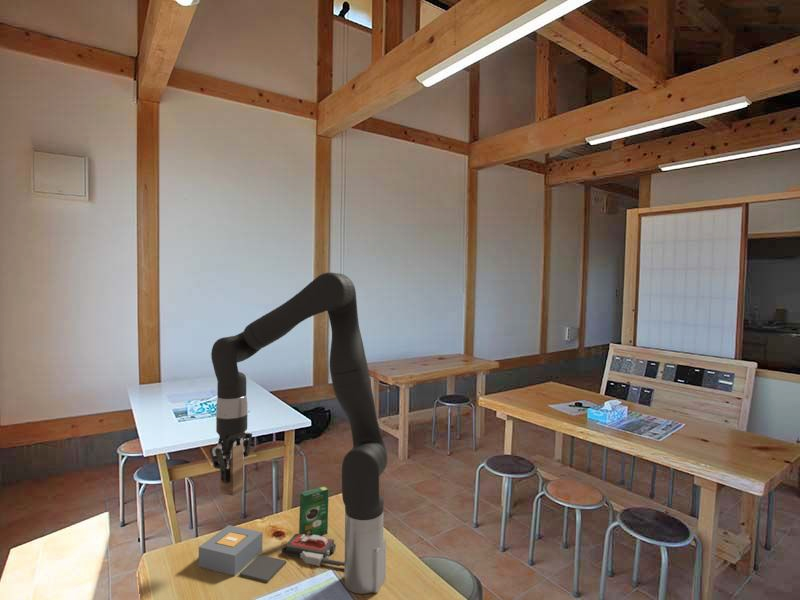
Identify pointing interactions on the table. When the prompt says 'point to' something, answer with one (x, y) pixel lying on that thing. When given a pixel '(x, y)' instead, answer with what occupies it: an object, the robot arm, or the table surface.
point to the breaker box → (230, 551)
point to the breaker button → (231, 539)
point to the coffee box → (314, 511)
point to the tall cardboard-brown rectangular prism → (234, 473)
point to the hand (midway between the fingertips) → (232, 478)
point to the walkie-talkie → (312, 549)
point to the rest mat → (263, 568)
